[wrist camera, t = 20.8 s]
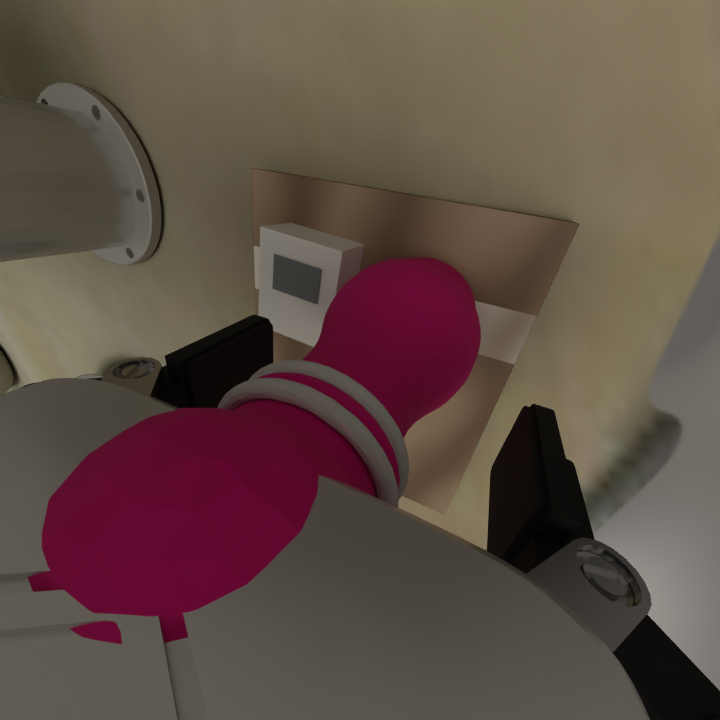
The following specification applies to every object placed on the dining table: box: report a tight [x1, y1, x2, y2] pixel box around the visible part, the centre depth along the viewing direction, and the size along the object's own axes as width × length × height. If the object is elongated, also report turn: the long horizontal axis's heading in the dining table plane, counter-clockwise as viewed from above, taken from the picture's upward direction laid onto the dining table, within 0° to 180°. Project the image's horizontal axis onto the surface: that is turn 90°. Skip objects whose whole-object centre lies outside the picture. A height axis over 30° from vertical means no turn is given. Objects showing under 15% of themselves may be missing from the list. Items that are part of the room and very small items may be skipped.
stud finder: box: [259, 223, 364, 347], centre depth 19 cm, size 5×6×3 cm
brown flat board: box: [251, 168, 579, 514], centre depth 22 cm, size 18×22×2 cm
